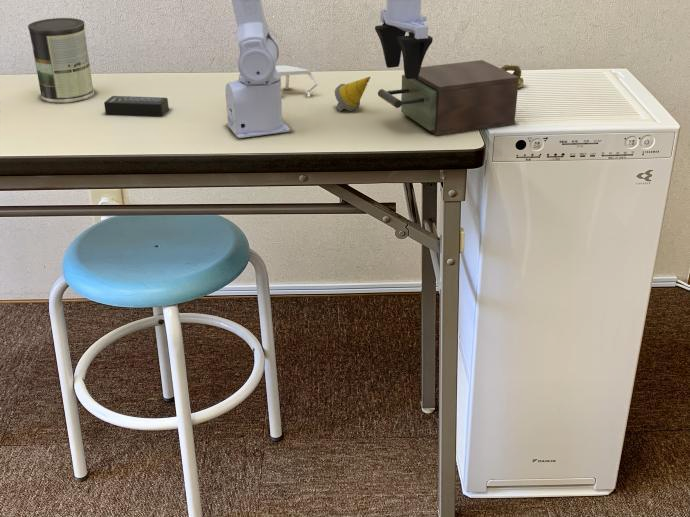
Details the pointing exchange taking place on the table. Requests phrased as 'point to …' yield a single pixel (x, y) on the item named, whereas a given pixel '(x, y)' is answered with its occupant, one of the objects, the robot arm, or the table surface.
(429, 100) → the drawer
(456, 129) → the cabinet
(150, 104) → the multiport hub
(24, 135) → the table surface
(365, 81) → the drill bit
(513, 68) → the seal
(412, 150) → the table surface
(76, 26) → the coffee can
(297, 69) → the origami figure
